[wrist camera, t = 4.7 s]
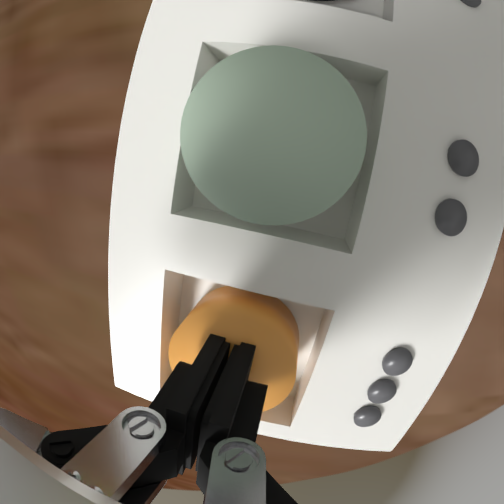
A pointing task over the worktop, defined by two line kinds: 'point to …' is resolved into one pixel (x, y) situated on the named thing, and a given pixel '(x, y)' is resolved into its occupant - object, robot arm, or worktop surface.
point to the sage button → (273, 135)
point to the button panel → (331, 220)
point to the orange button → (244, 336)
